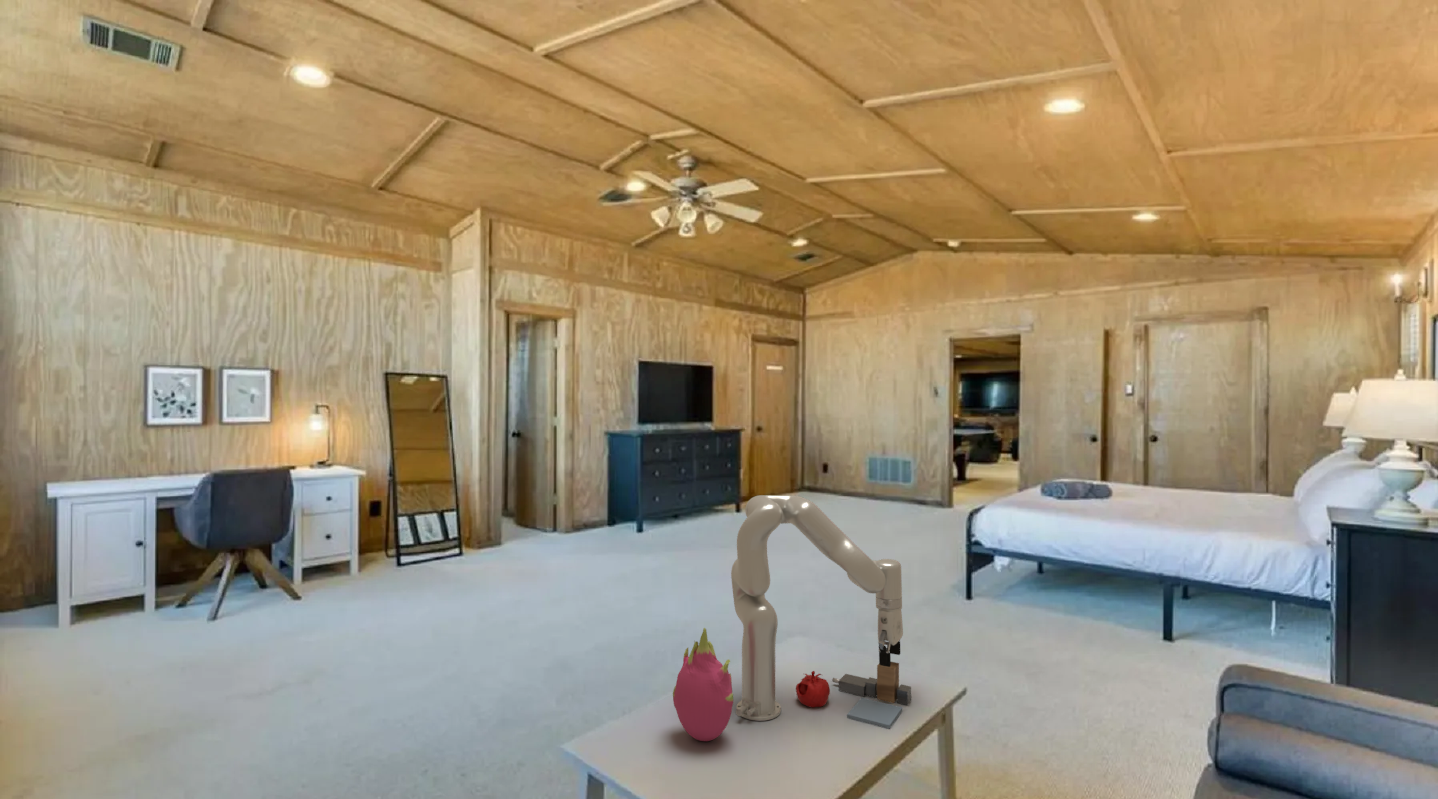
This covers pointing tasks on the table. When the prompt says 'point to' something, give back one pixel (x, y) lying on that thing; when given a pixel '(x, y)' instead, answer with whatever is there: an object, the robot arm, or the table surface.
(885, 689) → the walnut peg
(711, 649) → the pink dragon fruit
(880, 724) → the pad
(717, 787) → the table surface
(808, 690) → the pomegranate
